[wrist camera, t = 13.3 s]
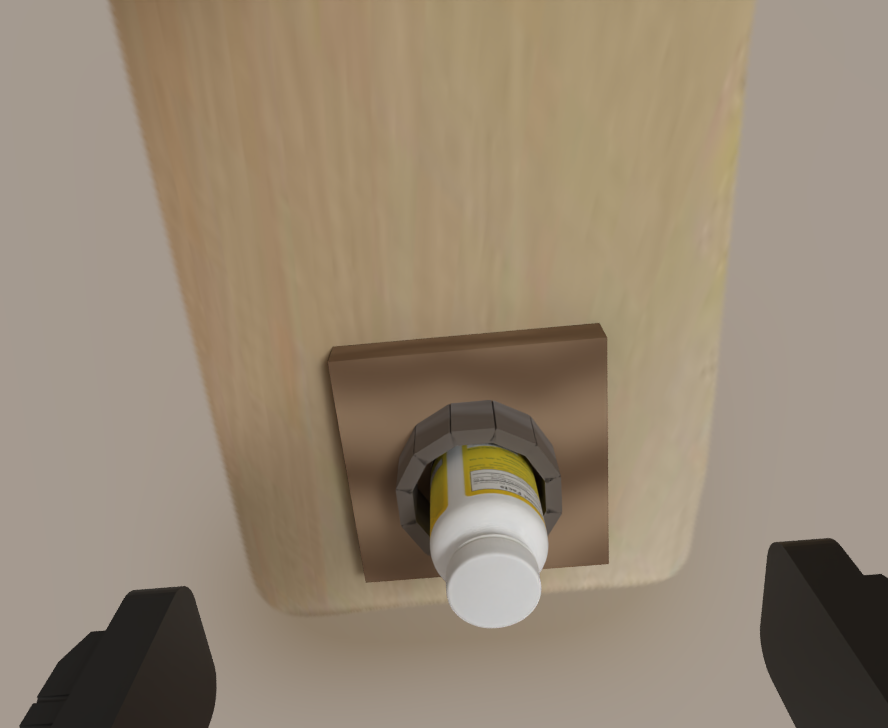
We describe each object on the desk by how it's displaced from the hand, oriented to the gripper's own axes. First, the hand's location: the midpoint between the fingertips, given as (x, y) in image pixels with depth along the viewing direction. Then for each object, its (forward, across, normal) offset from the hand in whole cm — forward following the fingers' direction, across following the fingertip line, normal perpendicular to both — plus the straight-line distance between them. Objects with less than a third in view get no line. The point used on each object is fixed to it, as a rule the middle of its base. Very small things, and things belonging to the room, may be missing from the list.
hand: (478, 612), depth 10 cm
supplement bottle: (+26, 0, +14) cm, 30 cm away
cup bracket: (+28, 0, +14) cm, 31 cm away
